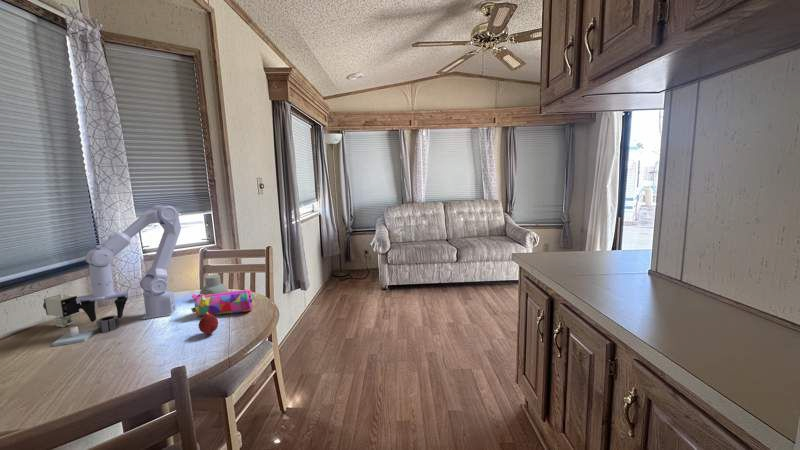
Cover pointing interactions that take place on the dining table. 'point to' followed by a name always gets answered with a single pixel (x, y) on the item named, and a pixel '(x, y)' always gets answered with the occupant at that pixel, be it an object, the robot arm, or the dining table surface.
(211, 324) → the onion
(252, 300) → the pencil case
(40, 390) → the dining table surface
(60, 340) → the square plate with peg
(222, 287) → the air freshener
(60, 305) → the pneumatic valve
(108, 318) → the ring
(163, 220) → the robot arm
